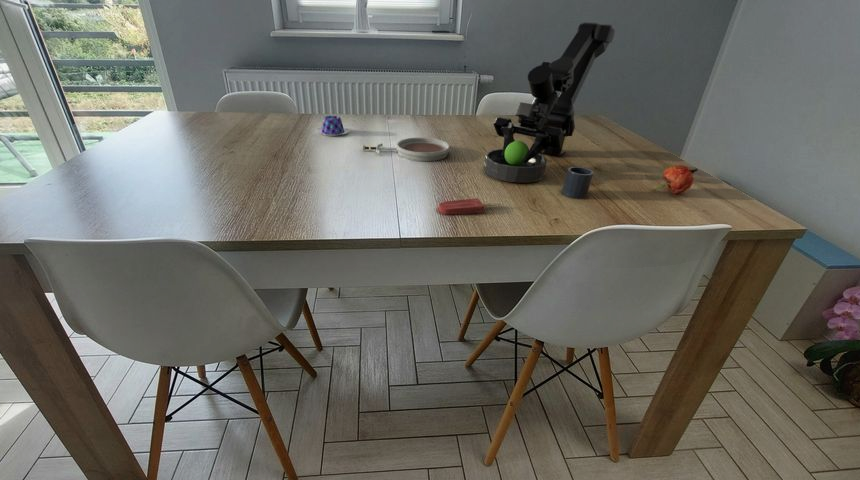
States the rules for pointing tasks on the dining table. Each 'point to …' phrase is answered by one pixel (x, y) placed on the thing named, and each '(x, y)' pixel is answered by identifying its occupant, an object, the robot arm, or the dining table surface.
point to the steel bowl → (514, 168)
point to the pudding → (332, 126)
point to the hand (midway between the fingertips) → (513, 159)
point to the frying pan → (418, 149)
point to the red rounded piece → (678, 178)
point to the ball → (516, 153)
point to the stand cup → (577, 182)
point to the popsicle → (463, 206)
